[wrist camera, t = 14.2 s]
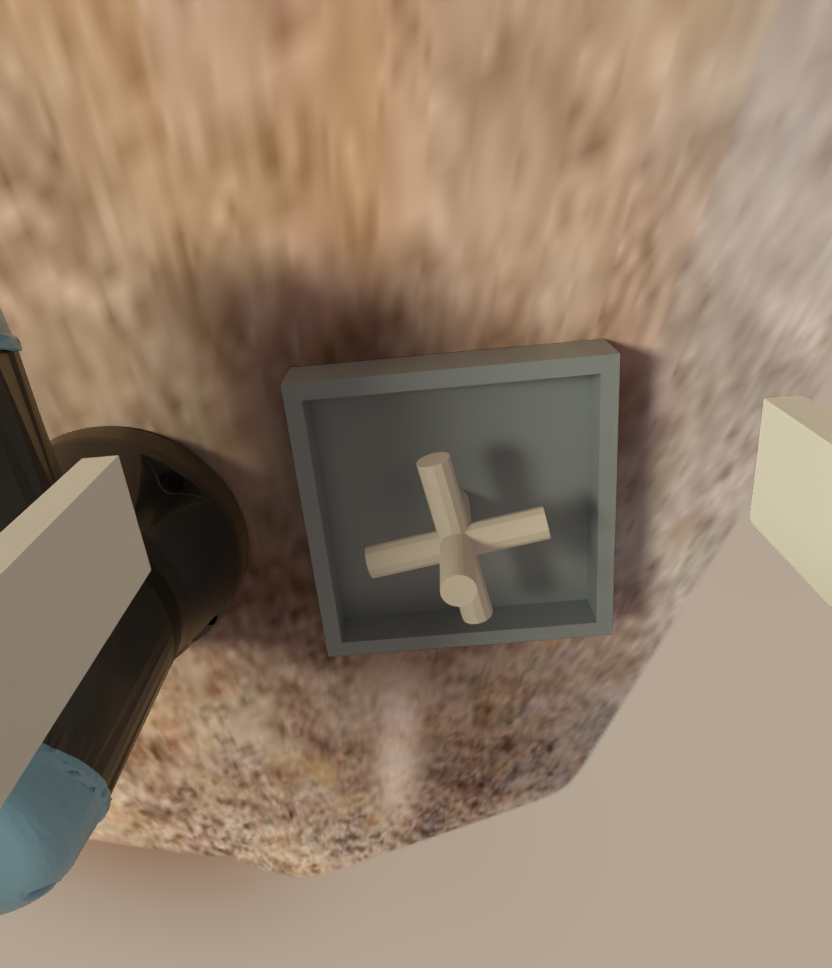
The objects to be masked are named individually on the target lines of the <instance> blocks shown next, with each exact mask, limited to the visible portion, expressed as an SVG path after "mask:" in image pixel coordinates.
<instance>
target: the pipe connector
mask: <svg viewBox="0 0 832 968" xmlns="http://www.w3.org/2000/svg"><path fill="white" fill-rule="evenodd" d="M416 465H417V468H418V472H419V475H420V478H421V482H422V485H423V488H424V492H425V495H426V498H427V502H428V505H429V508H430V512H431V515H432V518H433V522H434V525H435V528H436V531H431V532H427V533H423V534H418V535H414V536H410V537H405V538H401V539H397V540H392V541H388V542H384V543H379V544H375V545H371V546H366V548H365V558H366V564H367V568H368V571H369V573H370V575H371V577H372V578H377V577H382V576H386V575H391V574H395V573H400V572H404V571H409V570H413V569H418V568H422V567H427V566H431V565H435V564H440V595H441V597H442V599H443V600H444V601H445V602H446V603H448V604H449V605H452V606H457V607H459V608H460V612H461V615H462V618H463V620H464V622H466V623H469V624H479V623H482V622H485V621H487V620H488V619H489V618H490V617H491V616H492V613H493V609H492V606H491V602H490V599H489V595H488V591H487V588H486V584H485V581H484V577H483V573H482V570H481V566H480V563H479V559H478V555H480V554H485V553H489V552H493V551H498V550H502V549H507V548H511V547H516V546H520V545H525V544H529V543H534V542H538V541H543V540H547V539H551V538H550V533H549V528H548V524H547V520H546V516H545V512H544V508H543V506H539V507H535V508H531V509H526V510H522V511H518V512H514V513H509V514H505V515H501V516H496V517H492V518H488V519H483V520H479V521H475V522H471V514H470V502H469V497H468V495H467V494H466V492H465V491H463V490H461V489H459V487H458V483H457V480H456V476H455V473H454V469H453V465H452V462H451V458H450V455H449V454H448V453H446V452H437V453H432V454H429V455H426V456H424V457H422V458H421V459H419V460H418V461H417V463H416Z"/></svg>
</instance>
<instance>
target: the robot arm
mask: <svg viewBox="0 0 832 968" xmlns="http://www.w3.org/2000/svg"><path fill="white" fill-rule="evenodd" d="M19 351H22V347H21V343H20V341H19V339H18V338H17V337H15V336H13V335H12V334H11V331H10V329H9V327H8V324H7V322H6V320H5V318H4V315H3V313H2V311H1V308H0V915H2V914H6V913H9V912H12V911H14V910H17V909H18V908H21V907H24V906H26V905H28V904H30V903H31V902H33V901H35V900H37V899H38V898H40V897H42V896H43V895H45V894H46V893H47V892H49V891H50V890H51V889H52V888H53V887H54V885H55V884H56V883H57V882H59V881H61V879H62V878H63V877H64V875H66V873H67V872H68V871H69V870H70V869H71V867H72V866H73V865H74V863H75V861H76V860H77V858H78V856H79V854H80V852H81V851H82V849H83V847H84V845H85V844H86V842H87V840H88V839H89V837H90V835H91V834H92V832H93V830H94V829H95V827H96V825H97V824H98V823H99V822H100V821H102V819H103V818H104V817H105V815H106V813H107V812H108V810H109V807H110V804H111V803H110V802H111V800H112V798H110V796H111V794H112V791H113V789H114V787H115V785H116V783H117V781H118V778H119V776H120V774H121V772H122V770H123V768H124V766H125V763H126V761H127V759H128V757H129V755H130V753H131V751H132V748H133V746H134V744H135V742H136V740H137V738H138V736H139V733H140V731H141V729H142V727H143V725H144V723H145V721H146V719H147V716H148V714H149V712H150V710H151V708H152V706H153V704H154V701H155V699H156V697H157V695H158V693H159V691H160V689H161V686H162V684H163V682H164V680H165V678H166V676H167V674H168V671H169V669H170V667H171V665H172V663H173V661H174V659H175V658H177V657H178V656H179V655H180V654H182V653H183V652H184V651H185V650H186V649H187V648H188V647H189V646H190V645H191V643H193V642H194V641H196V640H198V639H199V638H200V637H202V636H203V635H204V634H206V633H207V632H208V631H209V630H211V629H212V628H213V627H214V626H215V625H216V624H217V623H218V622H219V621H220V619H221V618H222V617H223V616H224V614H225V613H226V611H227V610H228V609H229V607H230V605H231V604H232V602H233V600H234V598H235V595H236V593H237V591H238V588H239V586H240V583H241V581H242V578H243V575H244V572H245V569H246V564H247V558H248V538H247V531H246V527H245V523H244V519H243V516H242V514H241V511H240V509H239V506H238V504H237V502H236V501H235V499H234V497H233V495H232V494H231V492H230V490H229V489H228V488H227V486H226V485H225V483H224V482H223V481H222V480H221V479H220V477H219V476H218V475H217V474H216V473H215V472H214V471H213V470H212V469H211V468H210V467H209V466H208V465H207V464H206V463H205V462H203V461H202V460H201V459H199V458H198V457H197V456H196V455H194V454H193V453H191V452H190V451H188V450H187V449H185V448H183V447H182V446H180V445H178V444H176V443H174V442H172V441H170V440H168V439H165V438H163V437H160V436H158V435H155V434H152V433H149V432H145V431H141V430H137V429H131V428H125V427H109V426H104V427H91V428H85V429H80V430H76V431H72V432H69V433H66V434H63V435H61V436H59V437H57V438H54V439H52V440H51V441H50V440H49V437H48V435H47V432H46V429H45V426H44V424H43V421H42V418H41V415H40V413H39V410H38V407H37V404H36V401H35V398H34V395H33V392H32V389H31V387H30V384H29V381H28V378H27V375H26V372H25V369H24V366H23V363H22V360H21V357H20V354H19ZM750 521H751V522H752V523H753V525H754V526H755V527H756V528H757V529H758V530H759V531H760V532H761V533H762V534H763V535H764V536H765V537H766V538H767V540H768V541H769V542H770V543H771V544H772V545H773V546H774V547H775V548H776V549H777V550H778V551H779V552H780V553H781V554H782V556H784V558H785V559H786V560H787V561H788V562H789V563H790V564H791V565H792V566H793V567H794V568H795V569H796V570H797V572H798V573H799V574H800V575H801V576H802V577H803V578H804V579H805V580H806V581H807V582H808V583H809V584H810V585H811V586H812V587H813V589H814V590H815V591H816V592H817V593H818V594H819V595H820V596H821V597H822V598H823V599H824V600H825V601H826V602H827V604H828V605H829V606H830V607H831V608H832V412H830V411H828V410H827V409H825V408H823V407H822V406H820V405H818V404H817V403H815V402H813V401H812V400H810V399H808V398H807V397H805V396H804V395H798V396H787V397H775V398H764V403H763V411H762V420H761V428H760V437H759V445H758V454H757V462H756V471H755V480H754V488H753V497H752V505H751V514H750Z"/></svg>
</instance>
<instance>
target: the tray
mask: <svg viewBox="0 0 832 968" xmlns="http://www.w3.org/2000/svg"><path fill="white" fill-rule="evenodd" d="M619 379H620V353H619V352H618V351H617V350H616V349H615V348H614V347H613V346H612V345H610V344H609V343H608V342H607V341H606V340H605V339H595V340H584V341H573V342H562V343H551V344H540V345H530V346H519V347H508V348H497V349H486V350H475V351H464V352H453V353H442V354H431V355H420V356H409V357H399V358H388V359H377V360H366V361H355V362H344V363H333V364H322V365H311V366H300V367H290V368H289V370H288V372H287V374H286V375H285V377H284V379H283V380H282V382H281V384H280V386H281V392H282V397H283V403H284V409H285V414H286V420H287V426H288V431H289V437H290V443H291V448H292V454H293V460H294V465H295V471H296V477H297V482H298V488H299V494H300V499H301V505H302V511H303V516H304V522H305V528H306V533H307V539H308V545H309V550H310V556H311V562H312V567H313V573H314V579H315V584H316V590H317V596H318V601H319V607H320V613H321V618H322V624H323V630H324V635H325V641H326V647H327V652H328V657H333V656H345V655H358V654H371V653H384V652H396V651H409V650H422V649H435V648H448V647H460V646H473V645H486V644H499V643H511V642H524V641H537V640H550V639H562V638H575V637H588V636H601V635H612V626H613V591H614V556H615V520H616V485H617V450H618V415H619ZM437 452H446V453H448V454H449V455H450V458H451V462H452V465H453V469H454V473H455V476H456V480H457V483H458V487H459V489H461V490H463V491H465V492H466V494H467V495H468V497H469V502H470V514H471V522H475V521H479V520H483V519H488V518H492V517H496V516H501V515H505V514H509V513H514V512H518V511H522V510H526V509H531V508H535V507H539V506H543V508H544V512H545V516H546V520H547V524H548V528H549V533H550V538H551V539H547V540H543V541H538V542H534V543H529V544H525V545H520V546H516V547H511V548H507V549H502V550H498V551H493V552H489V553H485V554H480V555H478V559H479V563H480V566H481V570H482V573H483V577H484V581H485V584H486V588H487V591H488V595H489V599H490V602H491V606H492V609H493V613H492V616H491V617H490V618H489V619H488V620H487V621H485V622H482V623H479V624H469V623H466V622H464V620H463V618H462V615H461V612H460V608H459V607H457V606H452V605H449V604H448V603H446V602H445V601H444V600H443V599H442V597H441V595H440V564H435V565H431V566H427V567H422V568H418V569H413V570H409V571H404V572H400V573H395V574H391V575H386V576H382V577H377V578H372V577H371V575H370V573H369V571H368V568H367V564H366V558H365V548H366V546H371V545H375V544H379V543H384V542H388V541H392V540H397V539H401V538H405V537H410V536H414V535H418V534H423V533H427V532H431V531H436V528H435V525H434V522H433V518H432V515H431V512H430V508H429V505H428V502H427V498H426V495H425V492H424V488H423V485H422V482H421V478H420V475H419V472H418V468H417V465H416V463H417V461H418V460H419V459H421V458H422V457H424V456H426V455H429V454H432V453H437Z"/></svg>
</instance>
